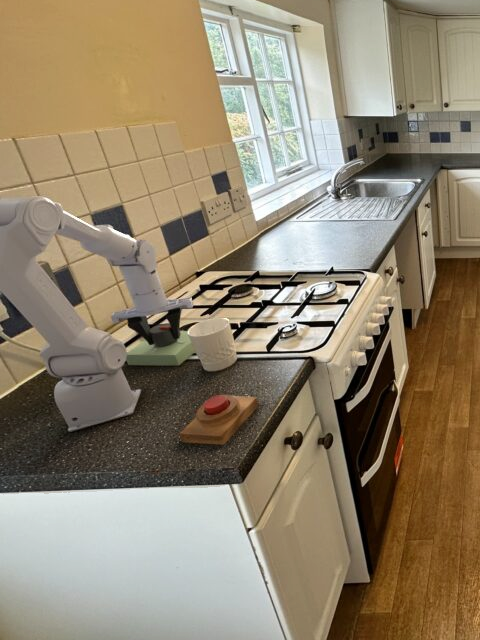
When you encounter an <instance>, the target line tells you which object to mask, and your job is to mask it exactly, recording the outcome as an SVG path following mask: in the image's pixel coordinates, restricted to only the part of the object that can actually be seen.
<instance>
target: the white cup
mask: <svg viewBox="0 0 480 640" xmlns="http://www.w3.org/2000/svg"><path fill="white" fill-rule="evenodd" d="M186 331H187V333H188V336H189V338H190V340H191V343H192V345H193V347H194V350H195V354H196V356H197V358H198V360H199V361H200V363H201V366H202V368H203V370H205V371H206V372H217V371H221V370H225V369H226V368H229V367H231V366H233V364H235V363H236V362H237V360H238V355H237V351H236V343H235V338H234V334H233V330H232V327H231V322H230V320H229V319H228V318H226V317H212V318H208V319H204V320H202V321H199V322H196V323H194V325H191V326H190V327H189V328H188V329H187V330H186Z"/></svg>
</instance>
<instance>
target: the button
mask: <svg viewBox="0 0 480 640" xmlns="http://www.w3.org/2000/svg"><path fill="white" fill-rule="evenodd" d="M225 395H226V394H219V395H215V396H212V397H210V398H208V399H207V400H206V401H205V402H204V403H205V404H204V403H203V404H204V408H205V410H206V413H207V414H208V415H215V414H218V413H220V412H222V411H224V410H226V409H227V408H228V407H229V403H228V400H227V397H226V396H225Z"/></svg>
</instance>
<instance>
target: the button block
mask: <svg viewBox="0 0 480 640" xmlns="http://www.w3.org/2000/svg"><path fill="white" fill-rule="evenodd" d="M224 395H225V396H226V397H227V400H228V403H229V407H228V408H227V409H226V410H224V411H222V412H220V413H218V414H215V415H208V414H207V413H206V410H205V408H204V404H205V402H204V403H203V404H201V406H200V407H199V408H197V410H196V414H195V418H194V419H193V420H192V421H190V423H188V424H187V426H185V427H184V428H183V429H182V430H181V431H180V432H179V436H180V439H181V441H182V442H183V443H185V444H186V443H187V444H205V445H220V446H221V445H223V446H224V445H225V444H226V443H227V442H228V441H229V440H230V439H231V438H232V436H233V435H234V434H236V432H237V431H238V430H239V429H240V427H242V425H243V424H244V423H245V422H246V421H247V419H249V418H250V416H252V414H253V413H254V412H255V411H256V409H257V408H258V407H259V406H260V405H259V401H258V398H257V396H241V395H230V394H224Z"/></svg>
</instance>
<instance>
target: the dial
mask: <svg viewBox="0 0 480 640" xmlns="http://www.w3.org/2000/svg"><path fill="white" fill-rule="evenodd" d="M149 333H150V335H151V338H152V340H153V343H154V345H155V347H165V346H168V345H171V344H173V343H175V342H176V341H177V339H175V337H174V333H173V330H172V327H171V325H170V323H169V322H167V323H166V322H165V323H161V324H157V325H155V326H153V327H152V328H151V327H150V330H149Z"/></svg>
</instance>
